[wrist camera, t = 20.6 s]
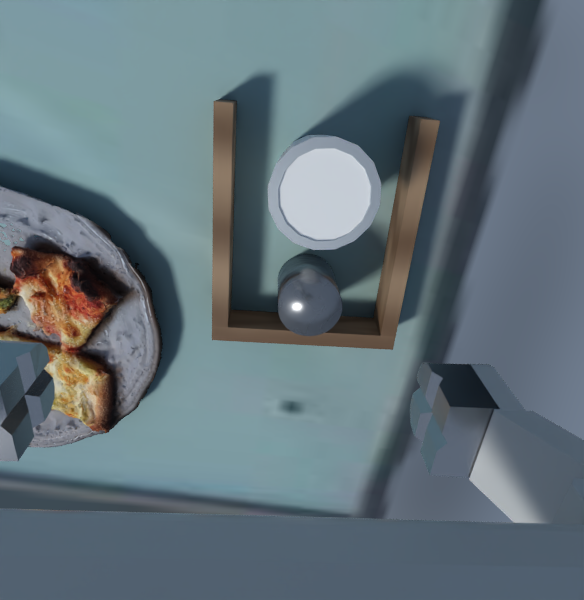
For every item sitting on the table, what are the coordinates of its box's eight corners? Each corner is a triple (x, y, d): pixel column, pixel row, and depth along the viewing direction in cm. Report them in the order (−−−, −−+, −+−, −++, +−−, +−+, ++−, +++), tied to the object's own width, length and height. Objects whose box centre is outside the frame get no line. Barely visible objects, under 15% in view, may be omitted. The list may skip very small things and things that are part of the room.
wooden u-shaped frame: (219, 99, 31) (213, 101, 28) (426, 117, 32) (440, 120, 29) (216, 321, 39) (212, 339, 36) (384, 330, 40) (392, 349, 37)
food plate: (200, 248, 36) (191, 265, 32) (129, 456, 45) (116, 485, 42) (-149, 117, 32) (-198, 121, 28) (-148, 376, 41) (-185, 401, 38)
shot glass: (262, 212, 35) (259, 242, 28) (276, 116, 32) (277, 125, 26) (350, 226, 35) (366, 259, 29) (372, 134, 33) (395, 147, 26)
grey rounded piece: (279, 252, 36) (280, 276, 32) (337, 255, 36) (346, 280, 32) (276, 304, 38) (276, 334, 34) (330, 307, 38) (338, 337, 34)
